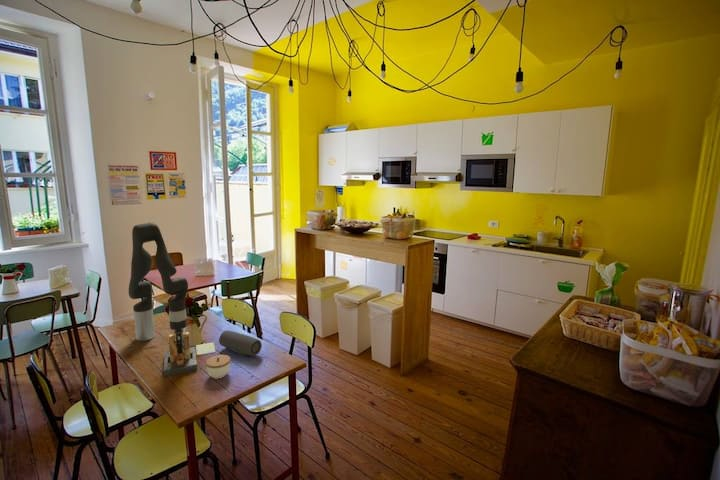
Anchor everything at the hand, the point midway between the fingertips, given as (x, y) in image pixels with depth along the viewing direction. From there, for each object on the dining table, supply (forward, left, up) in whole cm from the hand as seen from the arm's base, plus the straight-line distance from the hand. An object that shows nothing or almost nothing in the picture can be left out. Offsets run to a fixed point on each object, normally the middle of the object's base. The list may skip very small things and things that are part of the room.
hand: (180, 350), depth 173 cm
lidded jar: (+19, +16, -7) cm, 26 cm away
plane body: (0, 0, -7) cm, 7 cm away
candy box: (0, 0, -7) cm, 7 cm away
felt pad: (-11, +12, -7) cm, 18 cm away
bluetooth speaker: (0, +29, -7) cm, 29 cm away
